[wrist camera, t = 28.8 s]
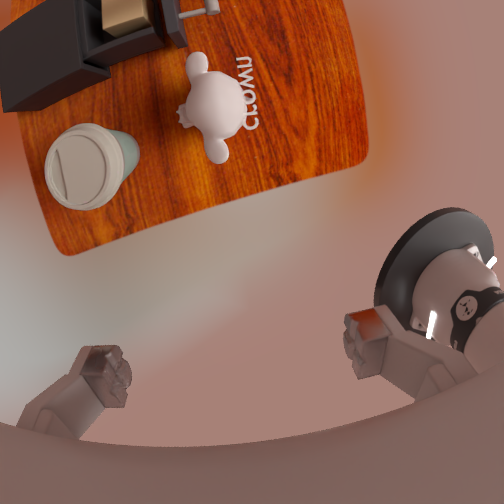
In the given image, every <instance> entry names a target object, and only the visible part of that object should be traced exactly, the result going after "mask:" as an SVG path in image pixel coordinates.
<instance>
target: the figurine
mask: <svg viewBox="0 0 504 504" xmlns="http://www.w3.org/2000/svg"><path fill="white" fill-rule="evenodd" d="M244 59H248V60H249V63H248V64H247V65H239V66H237V68H242V67H250V66H252V64H250V63H251V58H250V57H241V58H237V60H244ZM207 69H208V61H207V57H206V55H205V54H204V53H202V52H194V53H192V54H190V55H189V56H188V58H187V60H186V72H187V75H188V78H189V80H190V83H191V91H190V93H189V95H188V97H187V100H186V103H185V104H181V105H179V107H178V111H176V113H178V114H179V115H180V119H179V121H178V122H179V123H182V125H183V127H184V128H188V127H191V126H195V127H197V128H198V129H199V130H200V131H201V132H202V134H203V137H204V147H205V152H206V155H207V156H208V158H209V159H210V160H211V161H212V162H214V163H216V164H221V163H224V162H225V161H226V160H227V159H228V157H229V151H228V147H227V145H226V143H225V142H224V141H223V140H224V139H227V138H229V137H231V136H233V135H235V133H236V132H237V131H238V129H239V128H240V127H241V126H242V125H244V127H245V128H246V129H249V130H251V129H255V128H256V127H257V126H258V119H257V118H254V119H255V121H256V123H255V125H254V126H252V127H249V126H247V125H246V116H247V115H255V114H257V112H254V111H255V110H256V109H257V106H256V105H253V107H254V110H253V111H252V112H248V113H247V106H246V105H247V104H251V103H253V102H254V101H255V99H257V98H256V96H255V93H254V92H253V91H251V90H245V91H243V90H242V88H241V87H240V85H244V86H248V87H252V88H254V85H251V84H247V83H246V82H248V81H250V80H252V79H253V77H251V76H247V75H245V74H247V73H248V72H250V71H252V68H251V69H249V70H247V71H245V72H243V73H241V74H239V75H238V76H240V77H245V78H248V79H246V80H244V81H243V82H241V83H238V81H237V80H235V79H233V78H231V77H229V76H228V75H226V74H224V73H222V72H219V71H212V72H207ZM239 84H240V85H239ZM245 93H251V94H252V95H253V98H248V97H246V96H244V94H245Z"/></svg>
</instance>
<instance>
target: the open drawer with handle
mask: <svg viewBox="0 0 504 504" xmlns="http://www.w3.org/2000/svg"><path fill="white" fill-rule="evenodd" d="M152 1H153V3H154V13H155V22H156V30H155V29H154V28H153V27H149V28H146V29H143V30H140V31H137V32H135V33H132V34H129V35H126V36H124V37H121V38H118V39H117V38H115V37H114V36H112V35H111V34H109V33H108V32H106V31H105V30H103V23H102V0H77V11H78V23H79V33H80V42H81V50H82V57H83V60H84V61H87V62H90V63H93V64H96V65H99V66H101V67H104V68H105V67H108V66H110V65H113V64H115V63H118V62H121V61H123V60H126V59H129V58H132V57H134V56H137V55H140V54H143V53H146V52H149V51H153V50H156V49H159V48H162V47H166V44H165V39H164V33H163V28H162V22H161V17H160V11H159V6H158V0H152ZM161 2H162V8H163V13H164V19H165V24H166V30H167V34H168V35H169V37H170V38H171V39H172V41H173V42H174V43H175V45H176V46H177V48H178V49H180V48H183V47H187V46H188V44H187V39H186V34H185V29H184V24H183V19H185V18H189V17H193V16H197V15H202V14H206V13H207V14H208V15H215V14H218V13H219V12H220V9H219V4H218V0H204V3H205V8H202V9H197V10H193V11H189V12H184V13H181V8H180V3H179V0H161Z"/></svg>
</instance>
